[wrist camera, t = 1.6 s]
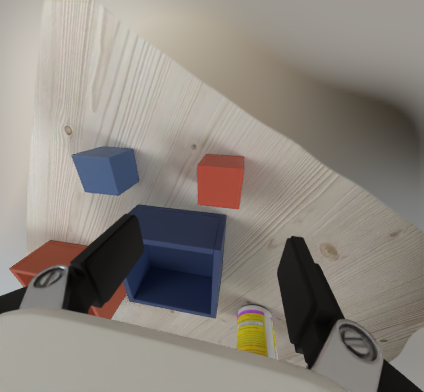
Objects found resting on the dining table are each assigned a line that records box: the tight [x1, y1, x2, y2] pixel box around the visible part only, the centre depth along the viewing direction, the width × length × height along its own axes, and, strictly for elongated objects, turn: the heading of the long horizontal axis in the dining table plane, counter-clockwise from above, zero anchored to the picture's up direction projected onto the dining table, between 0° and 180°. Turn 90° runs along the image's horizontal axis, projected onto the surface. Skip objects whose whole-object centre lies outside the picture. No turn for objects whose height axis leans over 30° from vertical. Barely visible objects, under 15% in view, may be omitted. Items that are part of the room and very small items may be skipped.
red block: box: [197, 154, 244, 209], centre depth 19 cm, size 4×4×4 cm
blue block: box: [72, 147, 139, 196], centre depth 21 cm, size 4×4×4 cm
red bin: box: [9, 240, 127, 319], centre depth 33 cm, size 14×14×7 cm
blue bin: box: [123, 205, 226, 318], centre depth 25 cm, size 14×14×7 cm
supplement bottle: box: [237, 305, 278, 360], centre depth 28 cm, size 7×7×13 cm
